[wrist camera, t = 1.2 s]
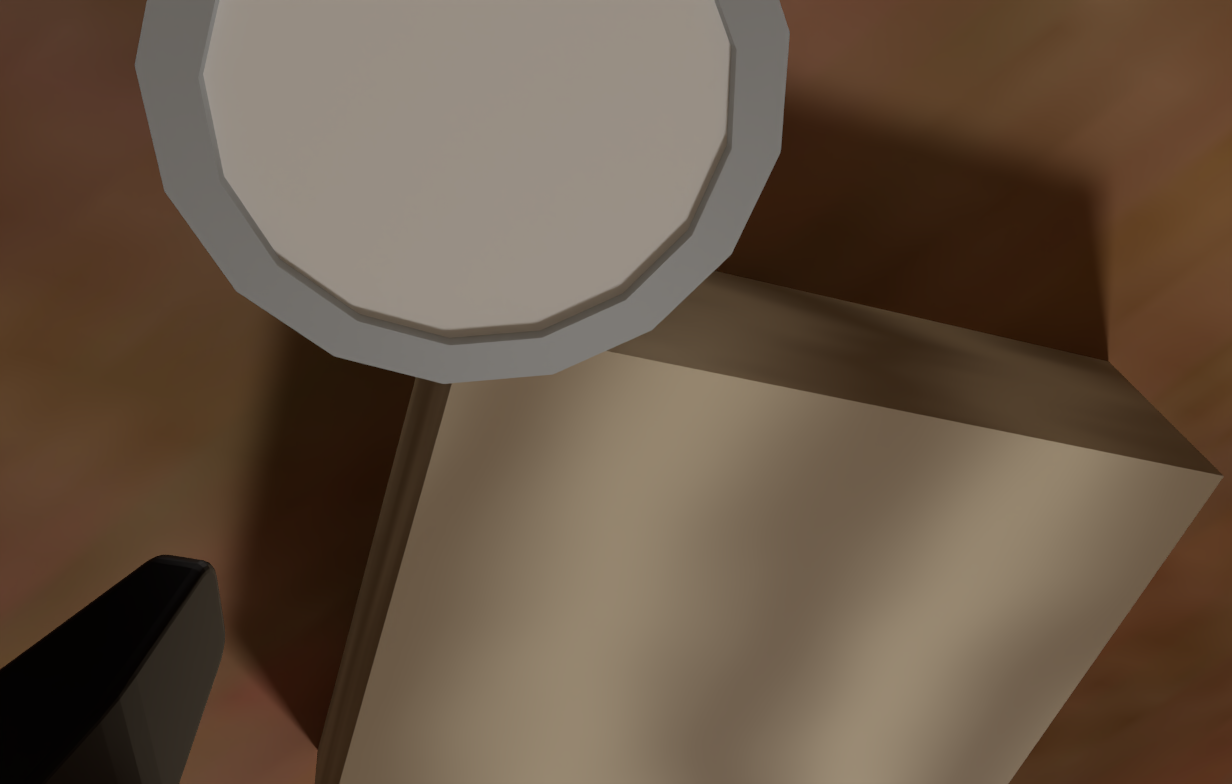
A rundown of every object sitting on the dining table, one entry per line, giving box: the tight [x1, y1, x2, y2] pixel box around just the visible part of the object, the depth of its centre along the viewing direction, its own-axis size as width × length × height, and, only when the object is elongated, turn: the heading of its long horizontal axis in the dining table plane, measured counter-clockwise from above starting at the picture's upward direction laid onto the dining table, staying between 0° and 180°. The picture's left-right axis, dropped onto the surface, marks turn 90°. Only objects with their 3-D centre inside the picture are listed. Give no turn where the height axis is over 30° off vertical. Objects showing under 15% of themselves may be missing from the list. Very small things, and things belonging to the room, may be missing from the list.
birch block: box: [315, 271, 1224, 784], centre depth 24 cm, size 14×14×4 cm
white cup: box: [135, 0, 790, 384], centre depth 15 cm, size 7×7×7 cm
